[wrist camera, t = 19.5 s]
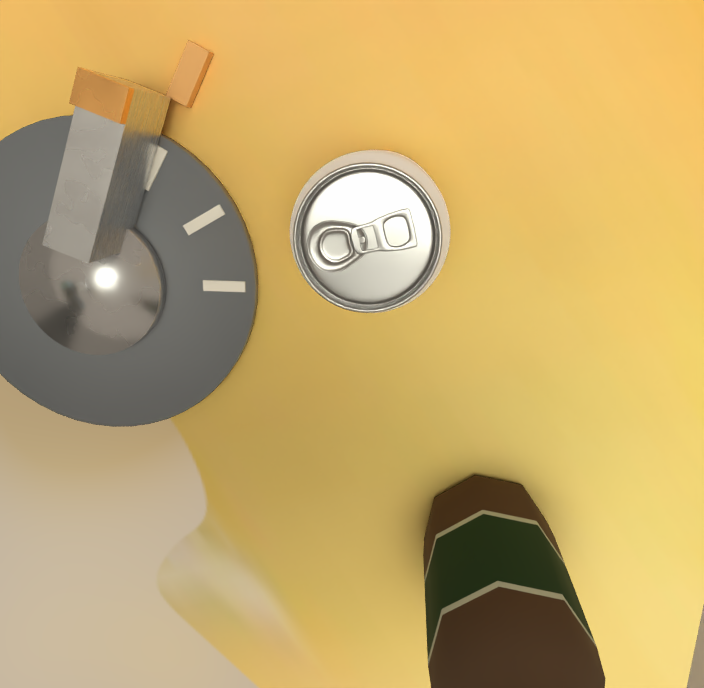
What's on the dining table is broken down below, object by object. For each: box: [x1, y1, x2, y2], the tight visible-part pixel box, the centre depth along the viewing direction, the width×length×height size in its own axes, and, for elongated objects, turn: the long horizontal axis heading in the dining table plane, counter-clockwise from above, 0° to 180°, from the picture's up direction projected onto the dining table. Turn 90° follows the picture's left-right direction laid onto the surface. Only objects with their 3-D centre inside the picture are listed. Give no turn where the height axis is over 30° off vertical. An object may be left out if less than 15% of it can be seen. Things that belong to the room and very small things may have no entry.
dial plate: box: [0, 116, 258, 426], centre depth 37 cm, size 18×18×1 cm
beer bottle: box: [423, 475, 605, 688], centre depth 29 cm, size 8×8×24 cm
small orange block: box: [166, 40, 213, 108], centre depth 34 cm, size 3×1×1 cm, turn 152°
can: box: [290, 150, 450, 313], centre depth 30 cm, size 6×6×12 cm
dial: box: [19, 67, 171, 355], centre depth 33 cm, size 15×8×5 cm, turn 159°
